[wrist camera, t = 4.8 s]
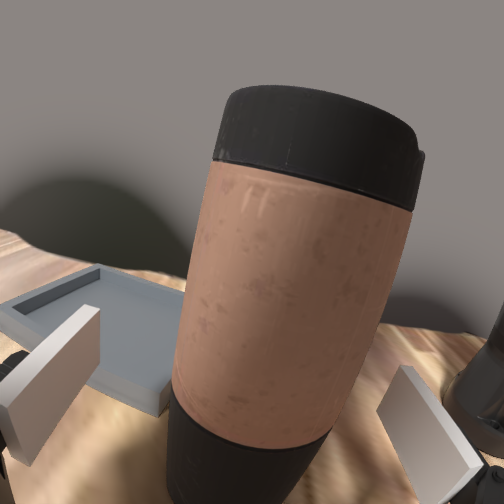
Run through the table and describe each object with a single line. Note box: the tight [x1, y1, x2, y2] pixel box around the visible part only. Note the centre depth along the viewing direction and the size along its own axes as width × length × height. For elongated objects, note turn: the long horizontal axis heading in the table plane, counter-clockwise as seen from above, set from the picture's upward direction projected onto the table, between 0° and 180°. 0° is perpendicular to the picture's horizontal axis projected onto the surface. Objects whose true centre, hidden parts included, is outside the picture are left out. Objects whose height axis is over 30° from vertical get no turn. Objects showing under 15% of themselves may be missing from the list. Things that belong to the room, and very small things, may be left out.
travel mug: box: [167, 85, 425, 504], centre depth 13 cm, size 8×8×20 cm
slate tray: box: [0, 264, 185, 418], centre depth 29 cm, size 18×18×2 cm
